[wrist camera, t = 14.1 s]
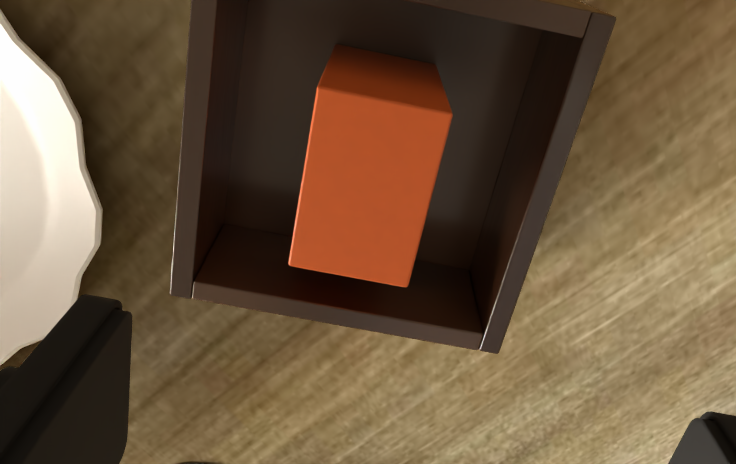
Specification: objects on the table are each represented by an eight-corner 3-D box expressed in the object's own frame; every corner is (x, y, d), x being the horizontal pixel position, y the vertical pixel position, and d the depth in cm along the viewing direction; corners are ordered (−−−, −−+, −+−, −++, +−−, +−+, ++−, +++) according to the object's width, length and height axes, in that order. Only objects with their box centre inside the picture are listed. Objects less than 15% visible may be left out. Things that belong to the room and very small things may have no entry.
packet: (437, 64, 25) (453, 113, 19) (403, 204, 27) (407, 289, 21) (334, 43, 25) (316, 85, 18) (310, 186, 27) (287, 266, 21)
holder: (570, -4, 24) (618, 16, 19) (480, 281, 30) (498, 355, 25) (237, -76, 24) (196, -74, 18) (207, 230, 29) (169, 295, 24)
